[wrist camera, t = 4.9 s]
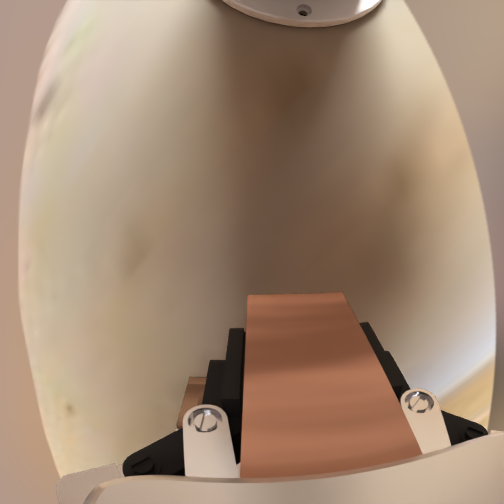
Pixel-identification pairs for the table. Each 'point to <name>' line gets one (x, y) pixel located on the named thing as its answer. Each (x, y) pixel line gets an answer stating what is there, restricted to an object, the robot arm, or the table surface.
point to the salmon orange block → (315, 391)
